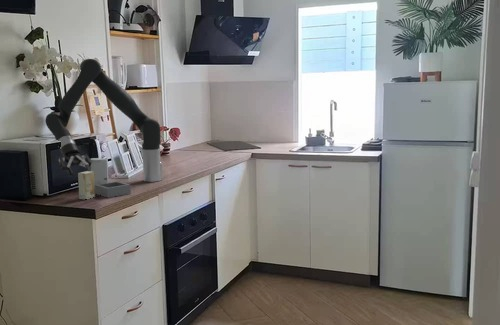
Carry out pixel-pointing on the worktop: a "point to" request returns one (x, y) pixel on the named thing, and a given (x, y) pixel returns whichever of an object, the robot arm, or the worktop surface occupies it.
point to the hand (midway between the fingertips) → (80, 174)
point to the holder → (112, 189)
